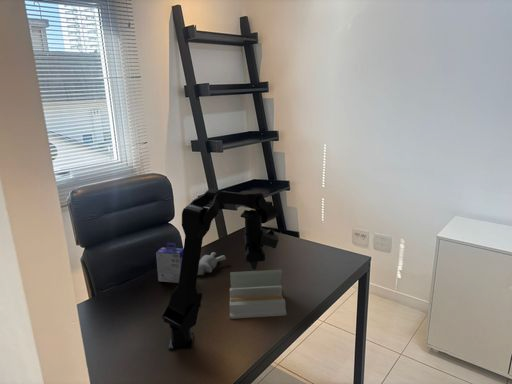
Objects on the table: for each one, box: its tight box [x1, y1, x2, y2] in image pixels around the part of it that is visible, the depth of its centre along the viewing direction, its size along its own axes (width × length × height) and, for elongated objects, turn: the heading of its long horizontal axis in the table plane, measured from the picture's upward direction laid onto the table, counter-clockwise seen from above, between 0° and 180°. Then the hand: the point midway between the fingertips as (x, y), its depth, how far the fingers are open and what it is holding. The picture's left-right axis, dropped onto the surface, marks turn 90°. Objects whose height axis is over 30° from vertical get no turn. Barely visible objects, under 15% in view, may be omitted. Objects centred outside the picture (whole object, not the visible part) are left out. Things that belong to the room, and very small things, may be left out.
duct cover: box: [229, 269, 283, 288], centre depth 126 cm, size 10×17×1 cm
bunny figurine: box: [197, 251, 227, 276], centre depth 151 cm, size 10×5×15 cm
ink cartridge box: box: [155, 242, 184, 284], centre depth 142 cm, size 10×6×14 cm, turn 78°
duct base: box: [229, 284, 287, 319], centre depth 126 cm, size 16×18×4 cm
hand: (254, 268), depth 132 cm, fingers closed
